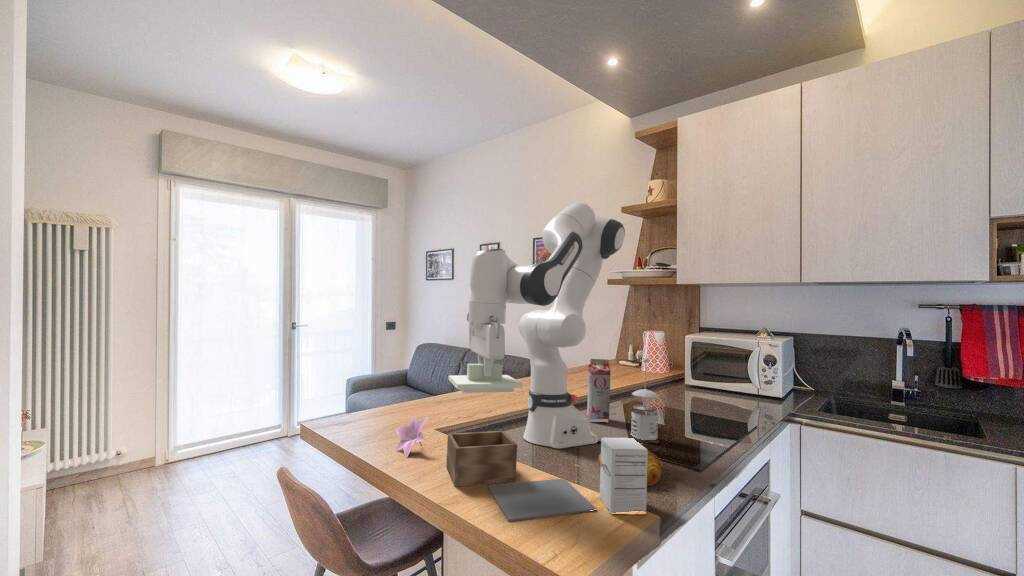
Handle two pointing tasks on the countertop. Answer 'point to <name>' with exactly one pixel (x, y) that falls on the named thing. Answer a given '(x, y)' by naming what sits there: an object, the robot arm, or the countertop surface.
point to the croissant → (649, 468)
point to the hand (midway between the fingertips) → (484, 374)
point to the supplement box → (623, 474)
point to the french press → (643, 423)
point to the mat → (539, 499)
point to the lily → (410, 434)
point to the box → (481, 458)
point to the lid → (484, 380)
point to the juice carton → (598, 389)
